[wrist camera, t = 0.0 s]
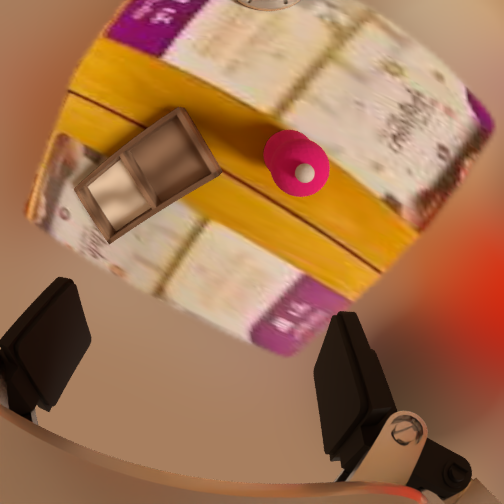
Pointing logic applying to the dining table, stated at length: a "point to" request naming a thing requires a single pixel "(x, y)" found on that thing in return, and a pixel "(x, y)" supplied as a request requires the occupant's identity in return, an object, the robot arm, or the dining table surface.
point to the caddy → (147, 175)
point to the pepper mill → (296, 163)
